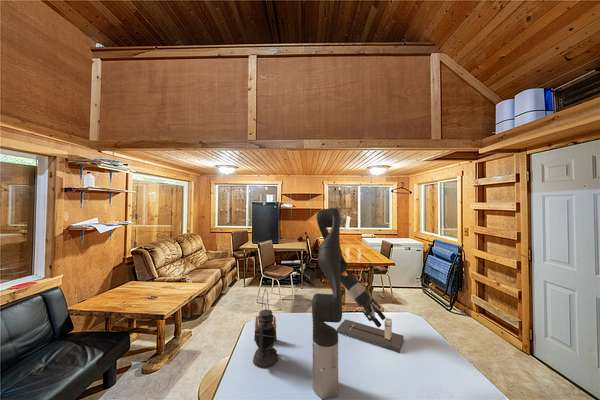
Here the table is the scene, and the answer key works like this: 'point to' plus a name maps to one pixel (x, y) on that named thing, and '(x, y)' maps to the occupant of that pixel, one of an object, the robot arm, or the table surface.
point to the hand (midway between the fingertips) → (382, 322)
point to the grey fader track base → (371, 335)
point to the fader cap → (388, 328)
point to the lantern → (265, 339)
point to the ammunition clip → (257, 326)
